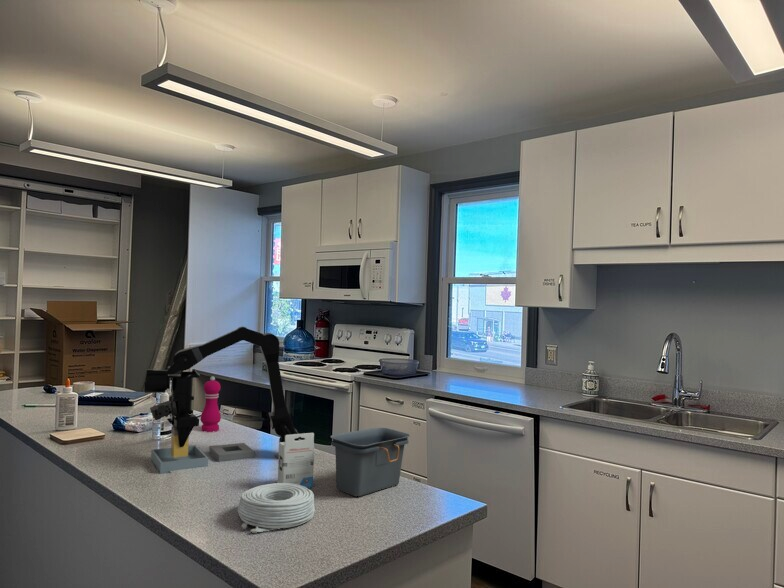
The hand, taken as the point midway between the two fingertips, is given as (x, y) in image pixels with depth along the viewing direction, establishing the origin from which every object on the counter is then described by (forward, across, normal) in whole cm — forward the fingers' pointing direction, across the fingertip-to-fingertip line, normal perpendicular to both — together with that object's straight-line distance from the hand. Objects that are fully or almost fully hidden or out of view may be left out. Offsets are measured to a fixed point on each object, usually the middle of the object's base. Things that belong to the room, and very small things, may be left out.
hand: (179, 445), depth 166 cm
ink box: (+6, +33, +23) cm, 41 cm away
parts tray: (+6, 0, 0) cm, 6 cm away
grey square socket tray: (+6, -1, +16) cm, 17 cm away
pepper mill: (+6, -38, +19) cm, 43 cm away
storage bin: (+6, +43, +41) cm, 60 cm away
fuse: (+3, 0, 0) cm, 3 cm away
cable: (+6, +50, +11) cm, 52 cm away
